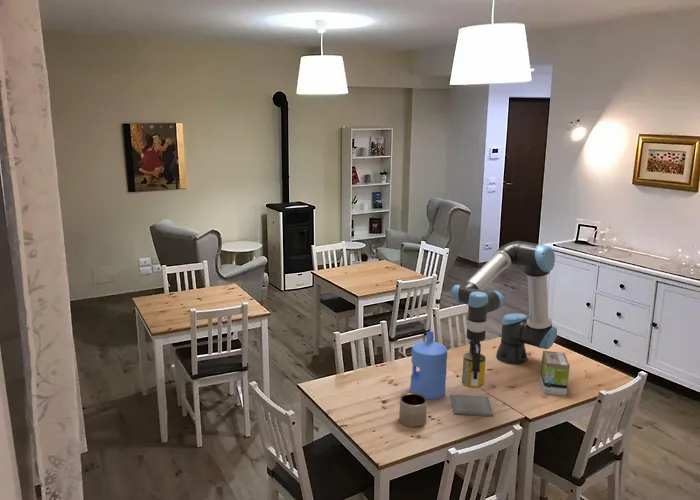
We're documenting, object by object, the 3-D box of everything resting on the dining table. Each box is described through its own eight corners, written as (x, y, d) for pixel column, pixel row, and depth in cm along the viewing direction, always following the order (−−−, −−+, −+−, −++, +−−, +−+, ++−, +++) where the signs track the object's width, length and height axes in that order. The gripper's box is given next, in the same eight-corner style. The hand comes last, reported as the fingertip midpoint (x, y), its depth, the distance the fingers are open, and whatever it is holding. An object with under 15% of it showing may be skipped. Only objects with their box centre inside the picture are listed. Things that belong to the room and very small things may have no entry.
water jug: (448, 387, 262) (451, 328, 256) (441, 402, 248) (445, 341, 241) (414, 381, 267) (416, 324, 261) (406, 396, 253) (408, 336, 246)
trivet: (450, 396, 254) (450, 394, 253) (487, 398, 252) (488, 396, 252) (453, 414, 238) (454, 412, 238) (493, 416, 237) (493, 414, 237)
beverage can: (469, 376, 249) (471, 350, 246) (487, 383, 243) (489, 356, 240) (457, 383, 243) (459, 356, 240) (475, 390, 237) (477, 363, 234)
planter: (397, 414, 238) (397, 393, 235) (423, 413, 239) (424, 392, 236) (401, 428, 227) (402, 406, 225) (428, 427, 228) (429, 405, 226)
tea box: (567, 396, 255) (570, 365, 252) (543, 393, 257) (546, 362, 254) (561, 381, 269) (564, 351, 266) (539, 379, 271) (542, 349, 268)
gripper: (464, 320, 248) (461, 368, 253) (469, 338, 227) (466, 391, 232) (482, 320, 248) (478, 369, 253) (489, 339, 227) (485, 392, 232)
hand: (472, 380), depth 242 cm, fingers closed on beverage can, 9 cm apart
